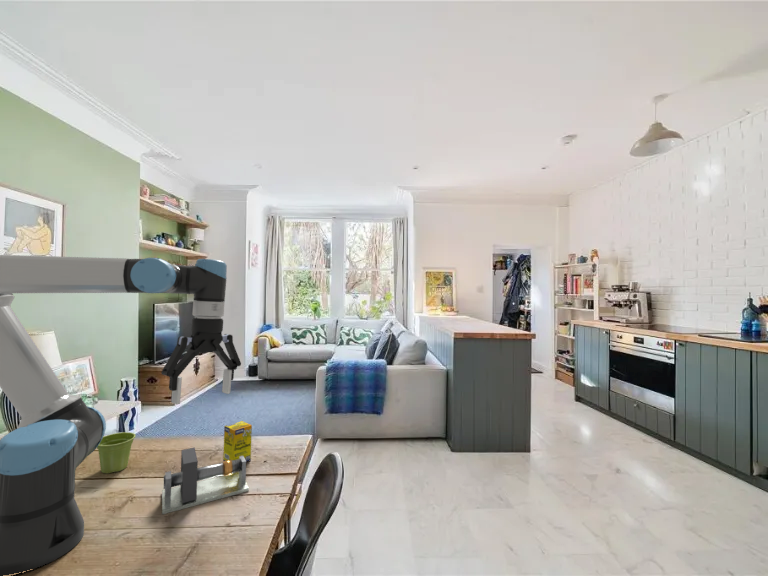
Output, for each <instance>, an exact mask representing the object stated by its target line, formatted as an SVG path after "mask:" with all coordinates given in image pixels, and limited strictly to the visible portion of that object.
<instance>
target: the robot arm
mask: <svg viewBox="0 0 768 576" xmlns="http://www.w3.org/2000/svg"><path fill="white" fill-rule="evenodd" d="M226 288H227V263H226V262H225V261H223V260H219V259H211V258H210V259H209V258H198V259H197V260H196V263H195V264H194V265H185V264H184V265H183V264H173V263H170V262H169V261H167V260H164V259H163V258H159V257H145V258H127V257H126V258H124V257H122V258H121V257H120V258H119V257H89V256H88V257H87V256H86V257H83V256H56V255H55V256H52V255H51V256H49V255H48V256H47V255H44V256H43V255H19V254H18V255H17V254H16V255H15V254H14V255H13V254H0V388H1V390H2V392H3V393H4V394H5V396H6V397H7V399H8V400H9V402H10V403H11V405H12V406H13V407H14V409H15V410H16V412H17V413H18V414H19V416H20V418H21V419H20V421H19V424H18V426H17V428H16V429H14V430H12V431H10V432H8V433H7V434H5V435H4V436H2V438H0V576H3V575H9V574H14V573H19V572H23V571H27V570H30V569H34V568H37V567H39V568H41V567H43V565H44V566H46V565H48V564H50V563H52V562H54V561H55V560H57V559H59V558H61V557H63V556H64V555H66V554H67V553H68V552H70V551H71V550H72V549H74V548H75V547H76V546H77V545H78V544H79V543H80V541H81V540H82V539H83V537H84V534H85V520H84V517H83V515H82V513H81V510H80V508H79V505H78V503H77V500H76V499H75V492H76V491H75V490H76V489H75V488H76V469H77V468H78V467H79V465H81V464H82V463H83V462H84V460H85V459H87V457H88V456H90V455H91V454H92V453H93V452H94V451H95V450H96V449H97V447H98V445H99V444H100V442H101V440H102V438H103V437H104V436H105V434H106V429H107V423H106V420H105V417H104V415H103V413H102V412H101V411H100V410H98V409H96V408H95V407H91V406H88V405H86V403H85V402H84V400H83V398H82V397H81V396H80V395H75V394H69V392H68V390H66V388H65V386H64V385H63V383H62V382H61V381H60V379H59V377H58V376H57V375H56V373H55V372H54V370H53V368H52V367H51V365H50V363H49V362H48V361H47V360H46V357H45V356H44V355H43V354H42V352H41V351H40V349H39V348H38V346H37V344H36V343H35V342H34V340H33V339H32V337H31V335H30V334H29V332H28V331H27V329H26V328H25V327H24V325H23V324H22V322H21V320H20V319H19V318H18V316H17V315H16V313H15V312H14V310H13V308H12V307H11V304H12V303H13V301H14V299H15V296H14V294H109V293H110V294H115V293H116V294H117V293H118V294H123V293H124V294H127V293H128V294H129V293H130V294H131V293H132V294H178V295H179V294H182V295H193V302H192V314H191V315H192V316H193V317H192V319H191V335H190V337H189V336H188V337H187V336H178V338H177V342H176V346H175V347H174V349H173V351H172V352H171V354H170V356H169V357H168V359H167V361H166V363H165V365H164V367H163V368H162V370H161V375H163V376H165V377H169V383H168V390H169V391H171V404H172V403H173V404H174V405H180V404H181V397H182V395H181V394H182V380H183V377H181V376H180V375H181V374H182V373H183V371H185V369H186V368H187V367H188V366H189V364H190V363H191V362H193V360H194V358H196V357H197V356H198V355H199V354H206V353H215V355H216V356H217V357H218V358H219V360H220V361H221V362H222V363H223V365H224V366H225V367H226V368H224V369H223V374H222V389H221V391H222V393H224V394H226V395H229V394H231V386H232V381H234V375H235V371H236V370H237V369H238V367H241V365H242V362H241V360H240V358H239V355H238V353H237V349H236V347H235V344H234V342H233V341H234V339H233V338H234V337H233V334H228V333H224V334H223V333H222V332H223V331H224V319H223V318H222V317H224V314H225V301H226ZM222 334H223V335H222ZM222 342H223V345H224V347H225V349H226V351H227V354H226V352H225V351H224V348H223V347H222V346H221V343H222ZM190 344H191V345H190ZM189 345H190V347H189V348H188V350H187V351H186V353H185V354H184V352H185V350H186V349H187V346H189ZM183 354H184V355H183ZM182 356H183V357H182ZM45 564H46V565H45ZM40 566H41V567H40ZM37 569H38V568H37ZM34 570H35V569H34Z"/></svg>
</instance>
